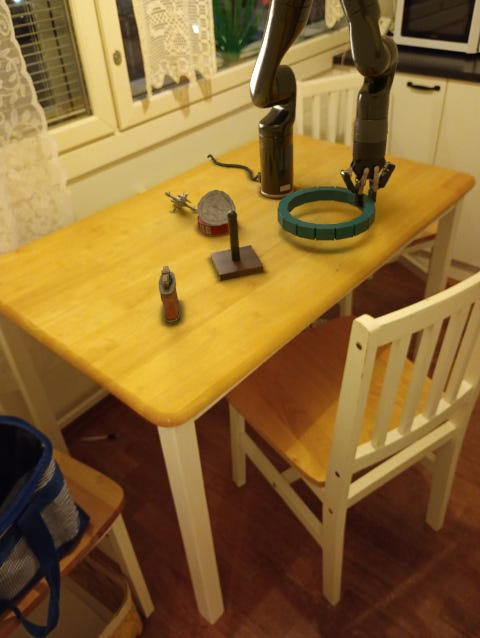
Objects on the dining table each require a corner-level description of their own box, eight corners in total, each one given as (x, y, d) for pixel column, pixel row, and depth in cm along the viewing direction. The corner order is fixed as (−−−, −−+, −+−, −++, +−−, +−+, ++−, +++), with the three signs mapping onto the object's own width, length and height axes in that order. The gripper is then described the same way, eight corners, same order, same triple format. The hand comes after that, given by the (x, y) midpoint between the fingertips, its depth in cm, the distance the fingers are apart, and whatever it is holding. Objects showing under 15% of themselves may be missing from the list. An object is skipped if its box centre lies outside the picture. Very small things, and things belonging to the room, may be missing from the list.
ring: (266, 206, 136) (266, 195, 134) (350, 191, 140) (350, 180, 138) (296, 248, 118) (296, 236, 116) (391, 229, 122) (392, 217, 120)
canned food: (235, 236, 142) (250, 206, 135) (218, 250, 134) (233, 220, 128) (201, 212, 143) (215, 182, 136) (182, 225, 135) (196, 194, 129)
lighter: (165, 301, 112) (157, 261, 106) (180, 300, 112) (174, 260, 106) (163, 325, 105) (155, 283, 99) (180, 323, 105) (173, 282, 99)
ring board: (210, 258, 124) (204, 205, 116) (251, 250, 126) (247, 197, 118) (220, 280, 117) (214, 225, 108) (263, 272, 118) (260, 216, 110)
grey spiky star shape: (194, 200, 151) (204, 201, 142) (185, 219, 151) (194, 221, 143) (164, 183, 146) (172, 182, 138) (154, 202, 147) (161, 203, 138)
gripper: (390, 126, 124) (383, 195, 134) (335, 135, 122) (332, 204, 132) (406, 136, 118) (398, 207, 128) (348, 145, 116) (344, 217, 126)
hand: (364, 205), depth 130 cm, fingers closed on ring, 2 cm apart
